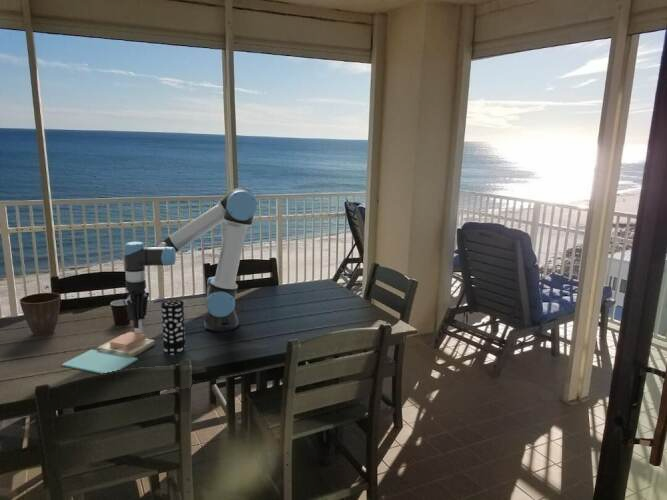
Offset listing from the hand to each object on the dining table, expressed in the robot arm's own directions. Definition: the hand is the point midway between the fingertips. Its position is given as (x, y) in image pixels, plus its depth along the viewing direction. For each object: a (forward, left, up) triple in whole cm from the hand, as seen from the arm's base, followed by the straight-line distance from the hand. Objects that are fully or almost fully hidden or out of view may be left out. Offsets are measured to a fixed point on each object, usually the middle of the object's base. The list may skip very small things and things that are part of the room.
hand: (138, 334), depth 200 cm
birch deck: (0, +8, -3) cm, 8 cm away
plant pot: (+43, +8, -3) cm, 44 cm away
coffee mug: (+21, -15, -3) cm, 26 cm away
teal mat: (0, +22, -3) cm, 22 cm away
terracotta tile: (0, +7, -1) cm, 7 cm away
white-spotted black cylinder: (-19, +3, -3) cm, 20 cm away
